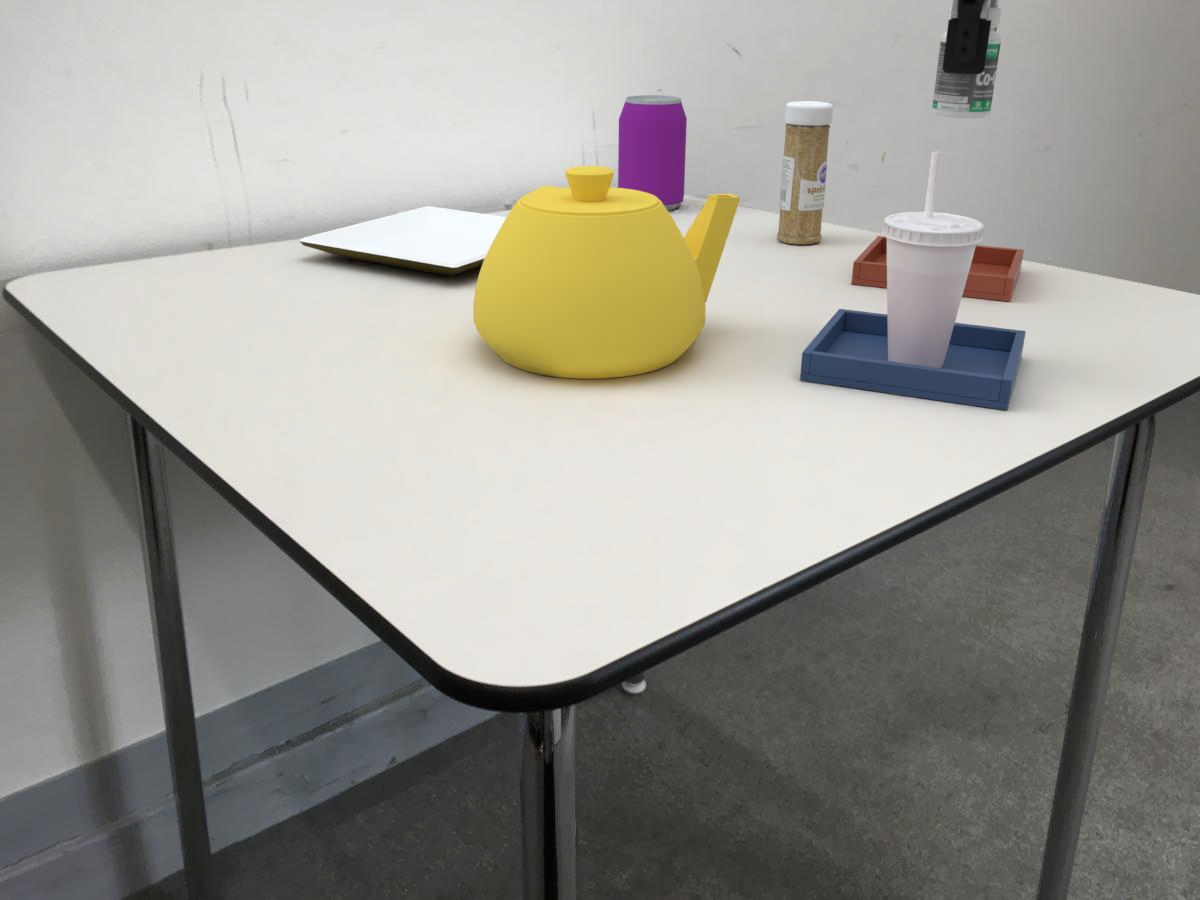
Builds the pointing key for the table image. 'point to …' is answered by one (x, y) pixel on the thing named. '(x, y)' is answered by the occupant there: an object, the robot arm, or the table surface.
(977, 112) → the pill bottle
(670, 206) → the beverage can
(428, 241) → the plate
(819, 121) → the sprinkles bottle
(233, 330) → the table surface
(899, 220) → the smoothie
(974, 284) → the terracotta tray
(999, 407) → the blue tray
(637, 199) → the teapot
